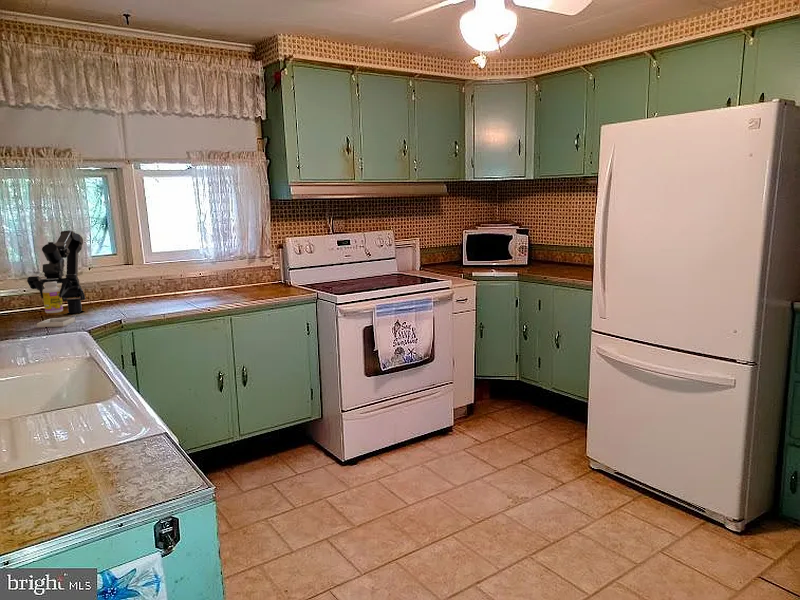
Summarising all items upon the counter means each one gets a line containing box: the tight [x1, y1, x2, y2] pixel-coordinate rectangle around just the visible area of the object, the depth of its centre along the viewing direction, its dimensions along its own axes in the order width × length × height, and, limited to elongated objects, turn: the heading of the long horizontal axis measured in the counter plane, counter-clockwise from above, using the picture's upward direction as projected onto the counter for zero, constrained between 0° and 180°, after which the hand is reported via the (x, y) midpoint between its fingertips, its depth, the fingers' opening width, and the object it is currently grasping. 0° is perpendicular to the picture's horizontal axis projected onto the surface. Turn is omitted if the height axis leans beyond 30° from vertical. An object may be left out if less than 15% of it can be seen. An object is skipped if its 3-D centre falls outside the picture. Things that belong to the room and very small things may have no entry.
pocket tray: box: [36, 317, 76, 329], centre depth 245 cm, size 12×11×2 cm
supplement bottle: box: [42, 281, 64, 314], centre depth 243 cm, size 7×7×13 cm
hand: (51, 297), depth 242 cm, fingers closed on supplement bottle, 7 cm apart
